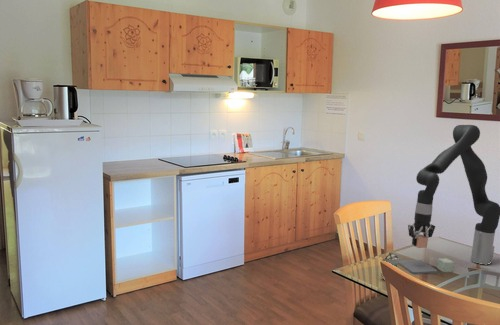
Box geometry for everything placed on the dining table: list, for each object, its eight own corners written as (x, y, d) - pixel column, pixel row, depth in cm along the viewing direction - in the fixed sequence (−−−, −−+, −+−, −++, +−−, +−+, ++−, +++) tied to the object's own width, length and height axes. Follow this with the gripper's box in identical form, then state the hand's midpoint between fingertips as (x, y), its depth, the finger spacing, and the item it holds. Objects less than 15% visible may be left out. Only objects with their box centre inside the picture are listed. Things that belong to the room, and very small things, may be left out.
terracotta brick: (420, 244, 219) (421, 234, 218) (426, 247, 214) (428, 237, 213) (411, 244, 218) (412, 234, 217) (417, 247, 213) (419, 238, 212)
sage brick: (445, 267, 220) (446, 258, 219) (452, 271, 215) (453, 262, 214) (437, 268, 219) (438, 258, 218) (443, 272, 214) (444, 262, 213)
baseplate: (420, 261, 226) (420, 259, 226) (438, 272, 212) (438, 270, 212) (396, 262, 222) (396, 260, 222) (412, 274, 209) (412, 272, 209)
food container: (393, 283, 197) (396, 262, 196) (380, 279, 200) (382, 259, 199) (400, 274, 208) (402, 254, 206) (387, 271, 211) (389, 251, 209)
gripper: (431, 209, 218) (427, 242, 221) (406, 209, 215) (402, 243, 218) (441, 213, 211) (436, 247, 214) (415, 214, 208) (410, 248, 210)
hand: (419, 245), depth 216 cm, fingers closed on terracotta brick, 5 cm apart
